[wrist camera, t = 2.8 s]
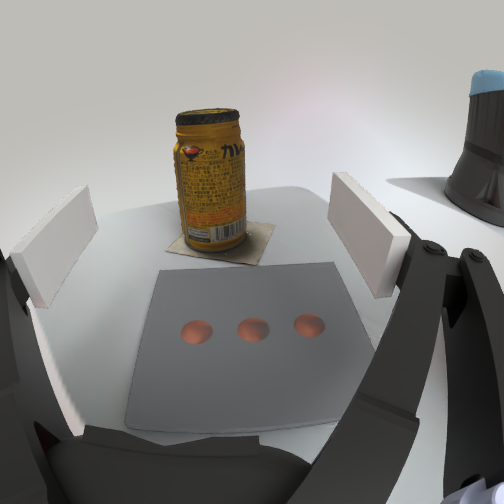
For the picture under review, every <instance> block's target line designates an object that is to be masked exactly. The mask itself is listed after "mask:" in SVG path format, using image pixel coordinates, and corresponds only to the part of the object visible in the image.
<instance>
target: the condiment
mask: <svg viewBox="0 0 504 504" xmlns="http://www.w3.org/2000/svg"><path fill="white" fill-rule="evenodd" d="M239 117H240V115H239V112H238V111H237V110H235V109H227V108H221V109H220V108H216V109H203V110H194V111H193V110H192V111H186V112H182V113H179V114H178V115H177V117H176V120H175V122H176V126H177V128H176V129H177V132H176V137H177V138H178V142H177V143H176V145H175V147H174V161H175V163H174V167H175V174H176V182H177V191H178V200H179V202H178V204H179V207H180V216H181V221H182V223H181V225H182V230H183V234H182V235H181V236H180V237H179V238H178V239H177V240H176V241H175V242H173V244H172V245H171V246H170V247H169V248H168V249H167V250H166V251H169V252H174V253H179V254H183V255H190V256H194V257H201V258H209V259H219V260H224V261H229V262H236V263H247V264H253V265H256V264H257V262H258V260H259V259H260V257H261V255H262V253H263V251H264V249H265V247H266V245H267V243H268V241H269V238H270V236H271V234H272V232H273V229H274V227H275V225H270V224H261V223H257V222H248V221H246V194H245V193H246V191H245V150H244V149H245V145H244V142H243V140H242V139H241V137H240V134H241V130H240V127H239V121H238V119H239ZM247 232H248V233H247ZM249 233H250V234H252V235H249ZM225 253H226V254H225Z"/></svg>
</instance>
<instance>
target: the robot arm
mask: <svg viewBox="0 0 504 504" xmlns="http://www.w3.org/2000/svg"><path fill="white" fill-rule="evenodd" d="M469 97H470V104H469V114H468V123H467V130H466V137H465V143H464V148H463V152H462V155H461V157H460V158H459V160H458V163H457V165H456V166H455V169H454V171H453V173H452V175H451V176H449V178H448V180H447V184H446V189H445V193H446V195H447V197H448V198H449V199H450V200H451V201H452V202H454V203H455V204H456V205H458V206H459V207H461V208H462V209H464V210H465V211H467V212H469V213H471V214H473V215H474V216H476V217H478V218H481V219H483V220H485V221H487V222H490V223H492V224H495V225H498V226H502V227H504V72H501V71H494V70H481V71H478V72H476V73H475V74H474V75H473V77H472V83H471V91H470V94H469ZM328 220H329V222H330V223H331V225H332V226H333V228H334V230H335V231H336V233H337V234H338V236H339V238H340V239H341V241H342V243H343V244H344V246H345V247H346V249H347V251H348V252H349V254H350V256H351V257H352V259H353V261H354V263H355V264H356V266H357V268H358V269H359V271H360V273H361V275H362V276H363V278H364V280H365V282H366V283H367V285H368V287H369V289H370V290H371V292H372V294H373V296H374V298H383V297H391V296H392V294H393V291H394V288H395V285H397V286H398V288H399V289H400V293H399V296H398V299H397V301H396V304H395V306H394V309H393V311H392V314H391V317H390V319H389V322H388V324H387V327H386V329H385V331H384V334H383V336H382V338H381V341H380V343H379V345H378V347H377V350H376V352H375V354H374V356H373V358H372V360H371V362H370V365H369V367H368V369H367V371H366V373H365V375H364V377H363V379H362V381H361V383H360V385H359V387H358V389H357V390H356V392H355V394H354V396H353V398H352V400H351V402H350V403H349V405H348V407H347V409H346V411H345V412H344V414H343V416H342V418H341V419H340V421H339V423H338V424H337V426H336V428H335V429H334V431H333V433H332V434H331V436H330V437H329V439H328V441H327V442H326V444H325V445H324V447H323V448H322V450H321V451H320V453H319V454H318V455H317V457H316V458H315V460H314V461H313V463H312V464H310V463H308V462H306V461H305V460H303V459H302V458H300V457H298V456H296V455H294V454H292V453H289V452H286V451H284V450H281V449H277V448H273V447H269V446H263V445H260V444H259V435H258V436H241V437H210V438H206V439H201V440H197V441H192V442H186V443H181V444H176V445H170V446H162V445H158V444H155V443H152V442H149V441H147V440H144V439H141V438H138V437H136V436H133V435H131V434H128V433H126V432H123V431H119V430H112V429H106V428H100V427H95V426H90V425H85V429H84V433H83V435H80V436H74V435H73V434H72V432H71V431H70V429H69V427H68V425H67V423H66V420H65V418H64V416H63V414H62V411H61V409H60V406H59V404H58V401H57V399H56V397H55V394H54V391H53V388H52V386H51V383H50V380H49V378H48V374H47V371H46V368H45V365H44V362H43V359H42V356H41V353H40V349H39V346H38V342H37V339H36V334H35V331H34V326H33V322H32V318H31V313H30V309H29V308H28V306H27V304H26V302H27V300H28V298H29V297H30V298H31V300H32V302H33V304H34V306H35V308H48V307H49V306H50V304H51V302H52V300H53V298H54V297H55V295H56V293H57V292H58V290H59V288H60V287H61V285H62V283H63V282H64V280H65V278H66V277H67V275H68V274H69V272H70V270H71V269H72V267H73V266H74V264H75V263H76V261H77V260H78V258H79V257H80V255H81V254H82V252H83V251H84V249H85V248H86V246H87V245H88V243H89V242H90V240H91V239H92V238H93V236H94V235H95V233H96V232H97V231H98V226H97V222H96V219H95V215H94V211H93V207H92V202H91V198H90V194H89V189H88V185H86V186H80V187H76V188H75V189H73V190H72V191H71V192H70V193H69V194H68V195H67V196H66V197H64V198H63V199H62V200H61V201H60V202H59V203H58V204H57V205H56V206H55V207H54V208H53V209H52V210H50V211H49V212H48V213H47V214H46V215H45V216H44V217H43V218H42V219H41V220H40V221H39V222H38V223H37V224H36V225H35V226H34V227H33V228H32V229H31V230H30V231H29V232H28V234H26V236H25V237H24V238H23V239H22V240H21V241H20V242H19V243H18V244H17V245H16V246H15V248H14V249H13V250H12V251H11V252H10V256H9V257H8V258H7V259H6V260H5V259H4V256H3V254H2V252H1V249H0V504H385V503H386V502H387V500H388V498H389V496H390V494H391V492H392V490H393V488H394V486H395V484H396V482H397V480H398V478H399V476H400V473H401V471H402V469H403V467H404V464H405V462H406V460H407V457H408V455H409V453H410V450H411V448H412V445H413V443H414V440H415V437H416V435H417V432H418V428H419V424H420V422H419V418H416V411H417V408H418V405H419V402H420V398H421V395H422V392H423V389H424V385H425V382H426V378H427V375H428V371H429V367H430V363H431V359H432V355H433V351H434V346H435V342H436V337H437V332H438V327H439V321H440V316H441V315H442V323H443V331H444V340H445V350H446V363H447V383H448V424H447V442H446V455H445V464H444V478H443V497H444V500H443V501H442V502H441V503H440V504H504V294H503V292H502V289H501V287H500V284H499V282H498V280H497V277H496V275H495V273H494V271H493V268H492V266H491V264H490V262H489V260H488V259H487V257H486V256H484V255H483V253H482V252H479V250H475V249H472V248H465V249H463V251H462V253H461V256H460V258H455V257H450V256H448V254H447V252H446V250H445V249H444V248H443V247H442V246H440V245H439V244H437V243H435V242H433V241H429V240H421V239H420V238H419V237H418V236H417V234H416V233H414V232H413V230H412V229H410V228H409V226H408V225H407V224H405V222H404V221H403V220H402V219H401V218H400V217H399V216H397V215H395V214H393V213H392V212H388V211H387V210H386V209H385V208H384V207H383V206H382V205H381V204H380V203H379V202H378V201H377V200H376V199H375V198H374V197H373V196H372V195H371V194H370V193H368V192H367V191H366V190H365V189H364V188H363V187H362V186H361V185H360V184H359V183H358V182H356V181H355V180H354V179H353V178H352V177H351V176H350V175H349V174H348V173H346V172H333V177H332V186H331V195H330V203H329V211H328Z"/></svg>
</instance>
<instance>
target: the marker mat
mask: <svg viewBox="0 0 504 504" xmlns="http://www.w3.org/2000/svg"><path fill="white" fill-rule="evenodd" d="M374 354H375V352H374V349H373V347H372V345H371V342H370V340H369V338H368V335H367V333H366V331H365V328H364V326H363V324H362V322H361V319H360V317H359V315H358V313H357V310H356V308H355V306H354V304H353V302H352V300H351V297H350V295H349V293H348V291H347V289H346V287H345V285H344V283H343V281H342V278H341V276H340V274H339V272H338V270H337V268H336V266H335V264H334V262H325V263H308V264H290V265H271V266H251V267H230V268H208V269H184V270H160V272H159V275H158V279H157V282H156V286H155V289H154V293H153V296H152V300H151V304H150V307H149V311H148V315H147V319H146V323H145V327H144V331H143V335H142V339H141V343H140V347H139V352H138V356H137V361H136V365H135V370H134V375H133V379H132V384H131V389H130V394H129V400H128V405H127V411H126V417H125V423H124V424H125V425H126V426H127V427H128V428H132V429H141V430H151V431H164V432H181V433H238V432H256V431H269V430H279V429H289V428H297V427H304V426H311V425H317V424H323V423H329V422H335V421H340V419H341V418H342V416H343V414H344V412H345V411H346V409H347V407H348V405H349V403H350V402H351V400H352V398H353V396H354V394H355V392H356V390H357V389H358V387H359V385H360V383H361V381H362V379H363V377H364V375H365V373H366V371H367V369H368V367H369V365H370V362H371V360H372V358H373V356H374Z"/></svg>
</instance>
